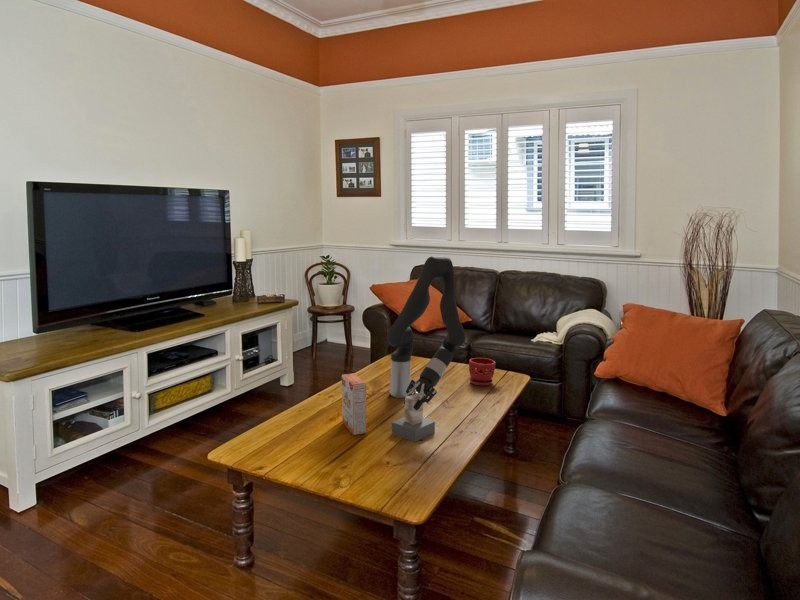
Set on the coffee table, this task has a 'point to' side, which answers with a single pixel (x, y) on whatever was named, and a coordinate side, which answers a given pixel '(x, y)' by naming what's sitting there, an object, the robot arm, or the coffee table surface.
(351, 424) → the cracker box
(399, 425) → the flat gray square
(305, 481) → the coffee table surface
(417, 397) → the taupe block
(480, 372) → the plant pot
